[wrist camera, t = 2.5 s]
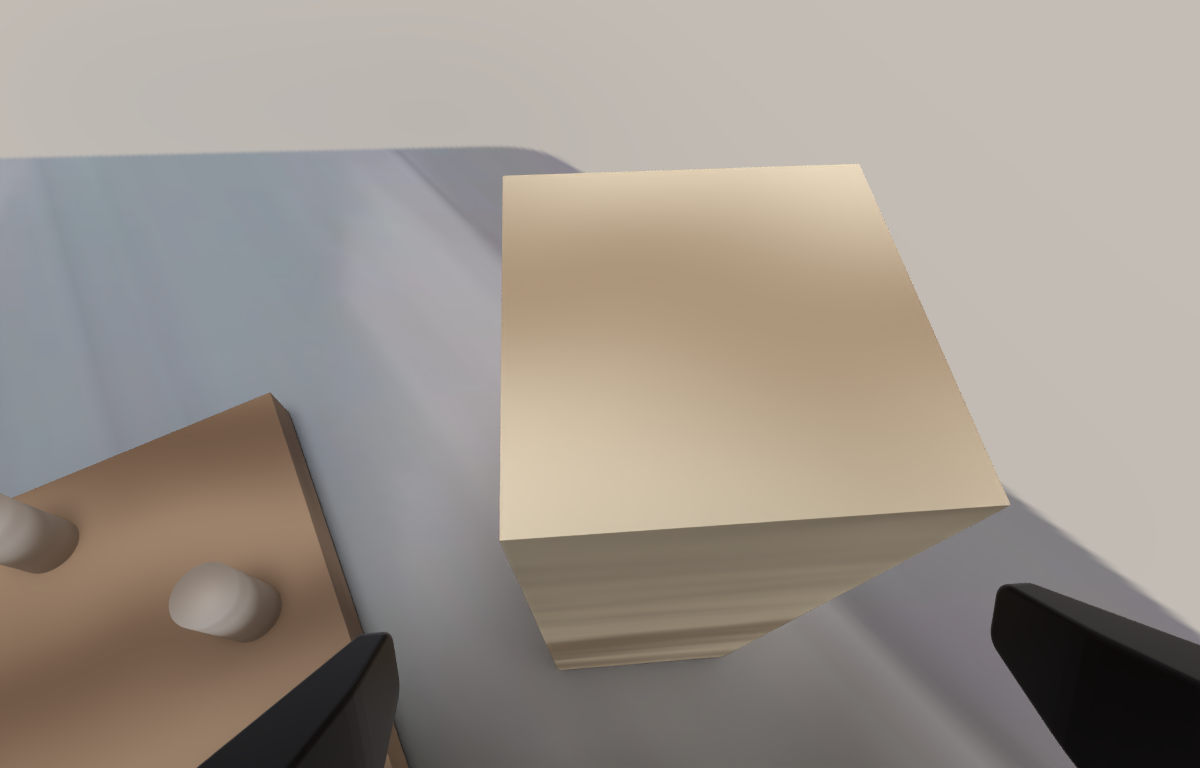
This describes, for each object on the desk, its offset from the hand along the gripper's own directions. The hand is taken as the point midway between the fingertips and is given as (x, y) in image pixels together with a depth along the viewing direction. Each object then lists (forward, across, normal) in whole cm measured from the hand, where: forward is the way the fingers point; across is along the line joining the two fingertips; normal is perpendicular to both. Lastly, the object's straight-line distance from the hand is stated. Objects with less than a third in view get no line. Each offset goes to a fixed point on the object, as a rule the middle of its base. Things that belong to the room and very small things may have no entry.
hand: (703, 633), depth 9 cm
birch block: (+9, 0, +5) cm, 11 cm away
